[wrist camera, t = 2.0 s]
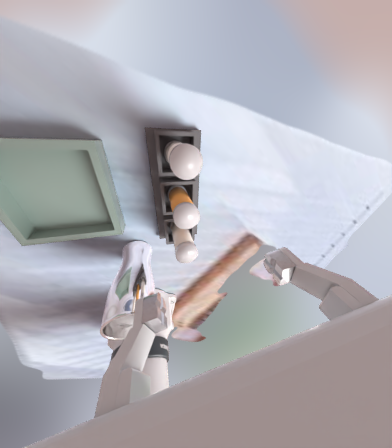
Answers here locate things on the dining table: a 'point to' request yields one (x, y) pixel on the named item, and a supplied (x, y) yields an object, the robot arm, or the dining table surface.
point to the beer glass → (127, 290)
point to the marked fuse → (182, 207)
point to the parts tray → (57, 190)
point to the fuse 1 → (183, 159)
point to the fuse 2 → (183, 244)
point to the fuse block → (169, 175)
